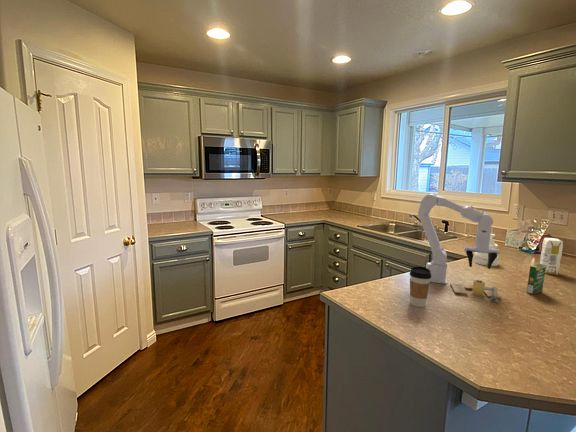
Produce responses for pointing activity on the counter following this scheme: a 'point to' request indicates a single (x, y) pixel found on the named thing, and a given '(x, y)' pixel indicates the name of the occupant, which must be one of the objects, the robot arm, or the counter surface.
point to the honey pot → (486, 254)
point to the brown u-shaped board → (461, 290)
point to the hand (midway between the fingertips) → (479, 267)
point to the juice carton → (551, 255)
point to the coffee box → (536, 279)
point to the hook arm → (494, 292)
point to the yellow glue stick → (478, 288)
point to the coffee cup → (419, 285)
